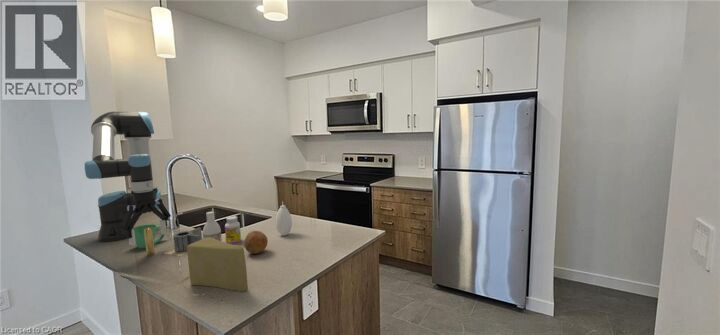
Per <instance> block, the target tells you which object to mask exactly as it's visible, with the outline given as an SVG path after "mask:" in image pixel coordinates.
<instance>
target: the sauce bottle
mask: <svg viewBox="0 0 720 335" xmlns="http://www.w3.org/2000/svg"><path fill="white" fill-rule="evenodd" d="M281 204H282V205H280V206H279V209H278V210H277V212H276V216H275V228H276V231H277V232H278V234H280V236H284V237H285V236H287V235H289V233H290V232H291V231H292V228H293V227H292V226H293V220H292V216H291V213H290V211H289V209H288V208H287V207H286V205H285V204H284V201H283V200H282V202H281Z"/></svg>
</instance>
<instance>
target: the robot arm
mask: <svg viewBox="0 0 720 335" xmlns="http://www.w3.org/2000/svg"><path fill="white" fill-rule="evenodd" d="M90 133H91V134H92V136H93V138H92V139H93V140H92V141H93V142H92V153H91V154H92V156H91V157H92V158H91V160H89V161H85V162H84V173H85V176H86V178H87V179H89V180H95V179H96V180H97V179H99V180H101V179H109V178H120V177H121V178H122V177H130V186H131V189H130V192H128V193H127V191H126V190H118V191H114V192H109V193H105V194H103V195H101V196H99V197H98V199H97V202H98V205H97V207H98V212H99V219H100V228H99V232H98V236H97V238H98V239H97V240H98V241H99V242H104V243H105V242H114V241H120V240H123V239H128V242H129V246H133V247H134V246H137V245H136V241H135V233H134V230H132V228H134V227H135V225H136V223H137V222H138V220H139V218H140V217H141V216H142V215H143V214H147V213H153V214H154V215H155V216H157V217H158V218H159V219H160V220H158V221H159V225H160V228H159V229H160V235H161V234H162V235H164V236H167V233H168V232H167V231H168V230H167V231H166V226H167V227H168V220H169V218H171V216H172V215H171V214H170V212H169V210H168V208H166V206H165V205H164V203H163V199H162V193H161V192H162V191H161V189H158V186H157V185H155V184H154V179H153V178H154V177H153V170H152V168H153V167H152V159H151V151H150V143H149V140H150V139H151V138H152V135H153V134H155V128H154V127H153V123H152V119H151V115H150V113H148V112H146V111H109V112H106V113H103V114H101V115H99V116H98V117H96V119H95V120H93V122H92V124H91V126H90ZM119 135H120V136H121V135H123V136H124V137H123V138H124V139H125V140H127V141H128V148H129V154H130V155H129V156H128V158H120V159H119V158H117V159H116V157H115V156H116V154H115V151H116V150H115V147H116V146H115V137H116V136H119Z"/></svg>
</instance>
